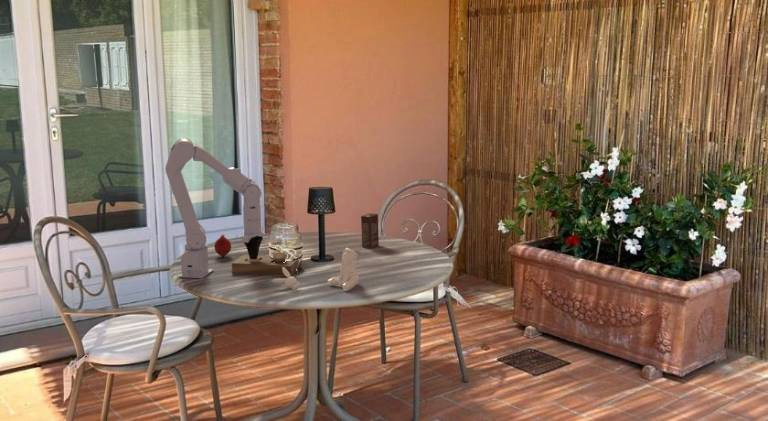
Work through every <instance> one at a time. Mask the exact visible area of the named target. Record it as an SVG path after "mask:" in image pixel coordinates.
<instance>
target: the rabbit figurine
mask: <svg viewBox="0 0 768 421" xmlns="http://www.w3.org/2000/svg"><path fill="white" fill-rule="evenodd" d="M282 271H283V273H284V275H285V276H284V277H285V278H274V279H271V282H272V283H274V284H281V283H282V284H283V283H284V286H282V288H283V289H284V288H286V289H289V288H292V290H296V289H297V288H298V286H299V284H300V281H299V280H298V279H297V278H296V277H294V276H290V273H289V272H288V271H287V270H286V269H285V268H284V267H282Z"/></svg>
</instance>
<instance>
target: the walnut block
mask: <svg viewBox="0 0 768 421" xmlns="http://www.w3.org/2000/svg"><path fill="white" fill-rule="evenodd" d="M270 256H271V255H259V254H258V258H260V261H259V262H252V261H248V260H247V259H248V258H250V257H249V254H242V255H241V256H240V257H238V258H237V259H235V260H234V261H232V262H231V273H232V274H238V275H257V276H272V277H273V276H277V277H278V276H279V277H286V276H285V275H284V273H283V271H282V267H284V268H285V269H286V270H287V271H288V272H289V273H290V277H293V275H294V274H295V273H296V272H297V271H296V269H297V268H298V260H295V261H286V262H285V263H274V262H273V259H271V258H270Z"/></svg>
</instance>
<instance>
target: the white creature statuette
mask: <svg viewBox="0 0 768 421" xmlns="http://www.w3.org/2000/svg"><path fill="white" fill-rule="evenodd" d="M358 256H359V254H358V253H356V250H354V249H352V248H350V247H345V249H344V250H343V252H342V254H341V263H340V266H339V268H338V269H339V275H338V276H333V277H330V278H329V279H327V285H328V286H329V287H338V288H341V289H342V290H343V291H344V292H349V291H351V290H352V289H354V288H355V287H356V286H357V285H358V283H359V280H360V276H359V275H358V272H357V271H356V266H355V264H354V263H353V262H354V261H355V260H356V259H357V258H358Z"/></svg>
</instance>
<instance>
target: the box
mask: <svg viewBox="0 0 768 421" xmlns="http://www.w3.org/2000/svg"><path fill="white" fill-rule="evenodd" d="M360 218H361V221H360V222H361V247H362V248H364V249H365V248H366V249H372V248H374V247H377V246H379V245H380V244H379V243H380V242H379V238H380V237H379V214H378V213H366V214H364V215H361V216H360Z"/></svg>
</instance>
